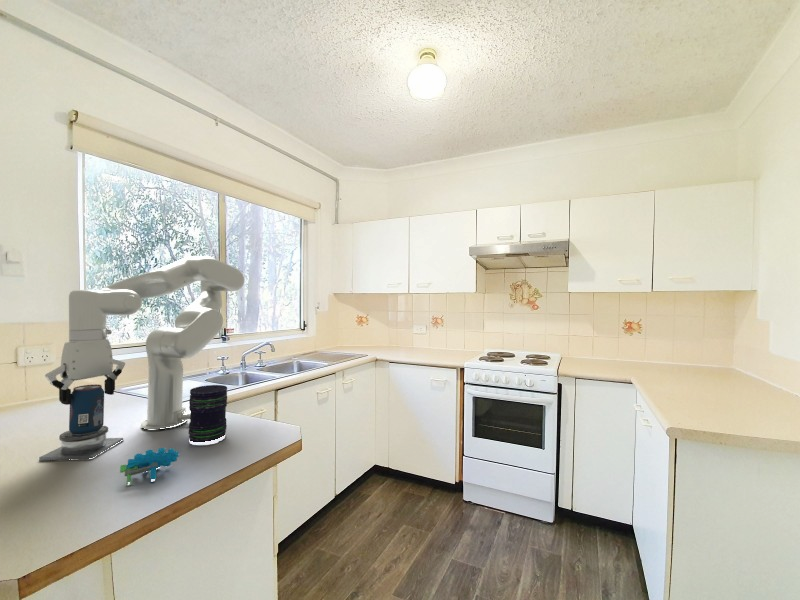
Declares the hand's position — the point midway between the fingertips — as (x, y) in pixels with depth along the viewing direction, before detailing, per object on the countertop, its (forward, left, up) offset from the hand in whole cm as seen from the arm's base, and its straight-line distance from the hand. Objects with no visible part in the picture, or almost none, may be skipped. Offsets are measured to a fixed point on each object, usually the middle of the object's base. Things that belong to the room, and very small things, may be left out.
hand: (88, 398), depth 95 cm
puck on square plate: (0, +1, -14) cm, 14 cm away
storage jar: (-29, -5, -14) cm, 32 cm away
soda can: (0, 0, -9) cm, 9 cm away
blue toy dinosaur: (-25, +17, -14) cm, 33 cm away
